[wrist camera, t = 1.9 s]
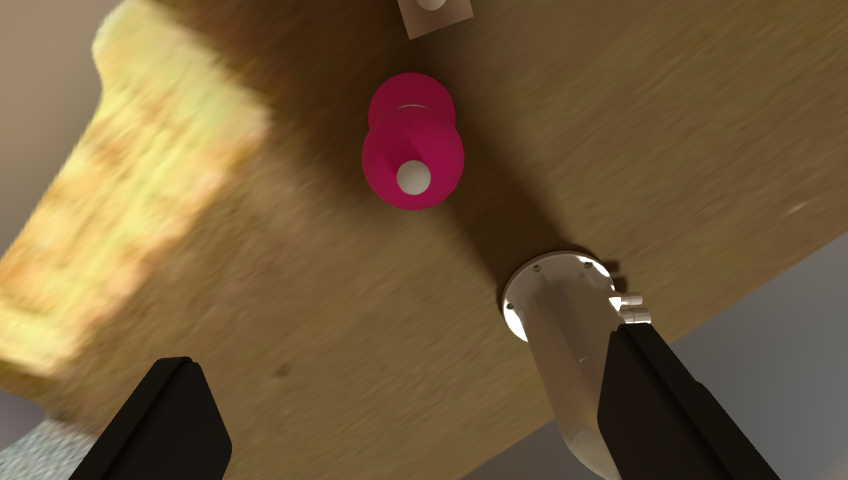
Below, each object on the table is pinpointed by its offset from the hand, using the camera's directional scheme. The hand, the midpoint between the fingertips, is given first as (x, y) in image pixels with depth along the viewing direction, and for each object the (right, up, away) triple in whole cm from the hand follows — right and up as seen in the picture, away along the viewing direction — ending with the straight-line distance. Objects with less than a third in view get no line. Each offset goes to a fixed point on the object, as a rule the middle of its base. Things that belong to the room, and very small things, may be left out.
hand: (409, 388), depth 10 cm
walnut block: (+1, +24, +25) cm, 35 cm away
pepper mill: (-1, +15, +30) cm, 33 cm away
